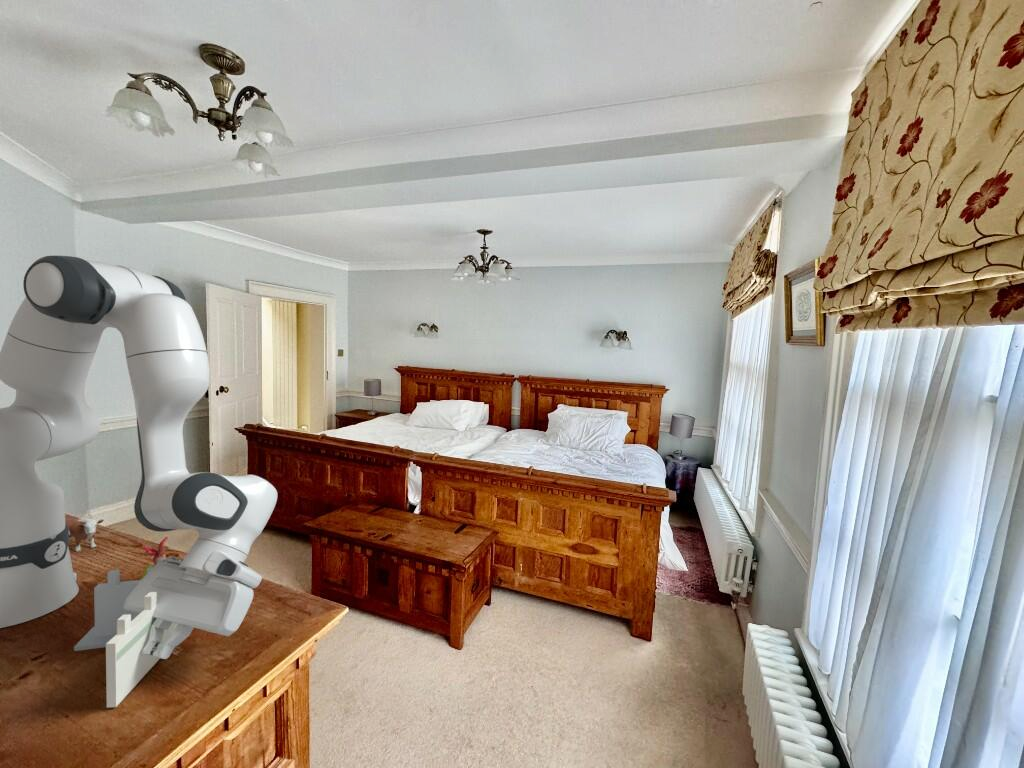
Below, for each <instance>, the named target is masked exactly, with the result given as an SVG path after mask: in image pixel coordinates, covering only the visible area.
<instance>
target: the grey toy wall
mask: <svg viewBox="0 0 1024 768" xmlns="http://www.w3.org/2000/svg"><path fill="white" fill-rule="evenodd" d="M153 568H154V567H149V568H148V569H147V573H148V572H149V571H150V570H152V569H153ZM120 571H121V570H120V569H111V570H110V571H108V572H107V582H104V583H97V585H96V586H95V587H93V588H94V589H93V591H94V592H93V595H94V596H93V598H94V599H93V600H94V603H93V604H94V605H93V606H94V608H93V609H94V626H92V627H91V629H90V630H89V631H88V632H87V633H86V634H85V635H84V636H82V638H81V639H80V640H79V641H78V642H77V643H76V644H75V645H74V646H73V651H74V652H80V651H85V650H94V649H101V648H106V643H107V642H109V641H110V640H111V639H112V638H113V637H114V636H115V635H116V634H117V620H118V619H119V618H120V617H121V616H122V615H125V614H131V621H132V620H133V619H134V618H135V617H137V616H138V615H139V614H137V613H133V612H129V611H126V610H124V609H123V605H124V601H125V599H126V598H127V597H128V595H129V594H130V593H131V592H132V590H133V589H134V588H135V587H136V586H137V584H138V583H139V582H140V581H141V580H140V579H137V580H125V581H120V579H121V578H120V576H121V574H120Z"/></svg>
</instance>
